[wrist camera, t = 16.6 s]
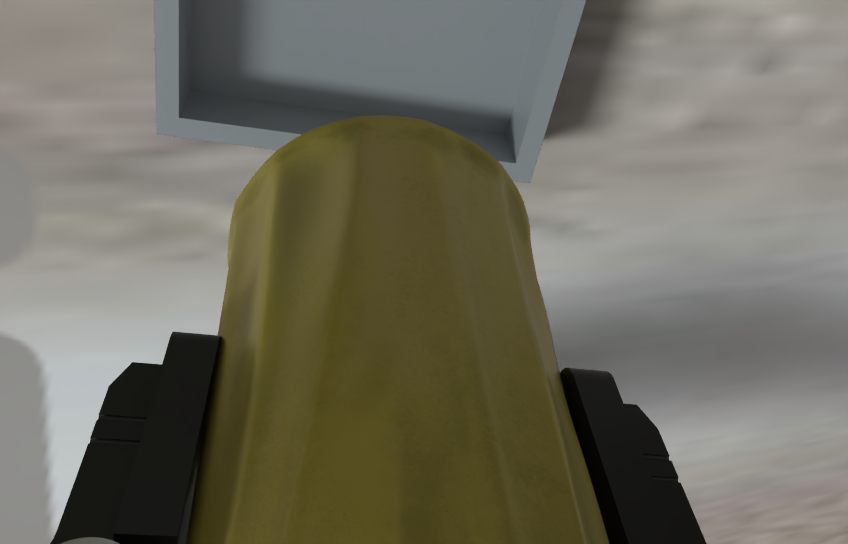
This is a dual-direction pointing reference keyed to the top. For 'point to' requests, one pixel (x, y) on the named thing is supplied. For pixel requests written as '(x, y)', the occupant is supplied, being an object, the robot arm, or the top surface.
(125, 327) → the top surface
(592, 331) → the top surface
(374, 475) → the vase
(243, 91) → the tray
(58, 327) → the top surface
